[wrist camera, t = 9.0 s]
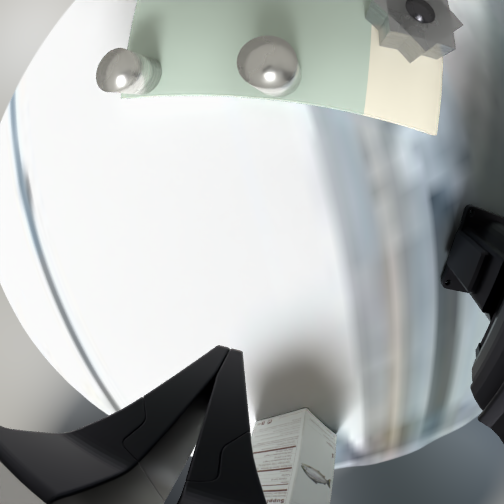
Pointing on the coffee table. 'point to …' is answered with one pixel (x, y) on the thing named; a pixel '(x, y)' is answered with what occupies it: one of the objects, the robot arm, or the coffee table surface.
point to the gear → (414, 26)
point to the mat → (305, 46)
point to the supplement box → (294, 458)
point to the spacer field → (248, 63)
